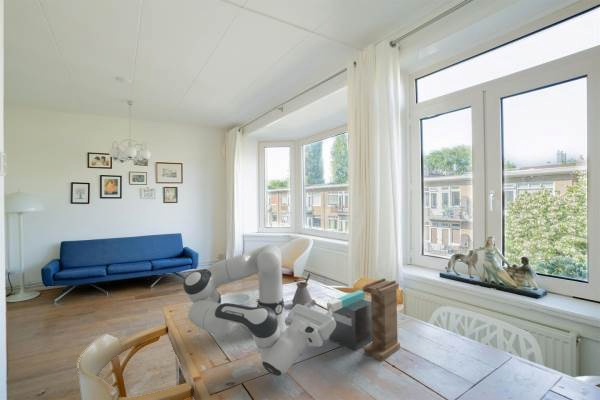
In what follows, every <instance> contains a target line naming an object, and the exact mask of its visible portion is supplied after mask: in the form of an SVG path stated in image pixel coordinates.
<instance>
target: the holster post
mask: <svg viewBox="0 0 600 400" xmlns="http://www.w3.org/2000/svg"><path fill="white" fill-rule="evenodd" d="M386 279H387V278H384V277H383V278H381V279H378V280H375V281H372V282H369V283H367V284H365V285H362V291H363V292H365V293H367V294H370V302H371V312H372V342H370V343H368V344H367V345H365V346H364V347H363V349H364V351H363V352H364V354H365V355H369V356H371V357H373V358H375V359H377V360H379V361H381V362H384V361H385V360H386V359H388V358H389V357H390V356H392V355H393V354H394V353H396V352H397V351H398V350H399V349H401V343H400V342H399V341H398V304H397V303H398V302H397V301H398V300H397V299H398V298H397V290H398V289H399V283H398V282H397V281H396V280H391V281H388V280H386Z"/></svg>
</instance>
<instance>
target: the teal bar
mask: <svg viewBox="0 0 600 400" xmlns="http://www.w3.org/2000/svg"><path fill="white" fill-rule="evenodd" d="M362 299H363V300H366V292H363V290H361V289H359V290H356V291H354V292H351V293H348V294H345V295H343V296H342V295H341V296H340V297H338V298H335V299H332V300H330V301H326V310H327V311H328V309H327V308H328V307H329V306H333V307H334V311H336V310H339V309H341V308H343V307H346V306H348V305H350V304H353V303H355V302H357V301H360V300H362ZM334 311H333V312H334Z"/></svg>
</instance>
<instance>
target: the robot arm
mask: <svg viewBox="0 0 600 400" xmlns="http://www.w3.org/2000/svg"><path fill="white" fill-rule="evenodd" d="M282 259H283V254H282V251H281V249H280V247H278V246H277V245H276V244H275V245H274V244H267V245H264V246H261V247H258V248H256V249H253V250H251V251H248V252H245V253H242V254H238V255H236V256H232V257H231V256H230V257H229V258H225V259H222V260H219V261H217V262H215V263H212V264H211V265H209V266H208V267H207V269H199V270H195V271H192V272H190V273H189V274H187V276H186V277H185V278H184V280H183V282H182V286H183V289H184V292H185V294H186V295H187V296H188V298H189V299H190V301H191V302H192V304H191V306H190V308H189V309H188V315H187V316H188V320H189V321H190V323H192V324H193V325H194V326H195V327H197V328H199V329H201V330H202V331H205V332H207V333H209V334H213V335H224V334H225V333H227V332H228V331H229V330H230V328H231V327H232V326H233V324H238V325H241V326H244V327H245V328H246V329H247V330H248V331H249V332H250V334H251V335H252V338H253V340H254V343H255V344H256V347H257V349H258V351H259V354H260V356H261V364H262V366H263V368H264V369H265V370H267V372H268V373H270V374H272V375H273V376H276V377H277V376H278V377H280V376H282V375H284V374H285V373H286V372H287V371H288V370H289V369H290V368H291V367H292V365H294V363H295V362H296V361H297V359H298V358H299V355H300V353H301V352H302V351H303V350H305V348H306V347H318V348H319V347H321V346H323V344H324V341H325V340H327V339H328V338H329V336H330V334H331V333H332V332H333V331H334V329H335V328H336V322H335V320H334V318H333V317H332V312H333V311H334V307H333V306H329V307H328V308H327V307H326V310H327V309H328V310H327V311H328V312H326V313H323V312H320V311H318V310H316V309H313V308H312V307H315V305H317V302H316V300H315V299H312V298H311V299H312V300H311V301H310V302H308V303H306V304H305V305H304V306H303V305H300V304H296V305H294V306H292V309H291V310H290V311H289V312H288V314H287V316H286V309H285V307H284V306H285V305H284V304H285V302H284V301H285V300H284V299H285V298H284V297H283V295H284V294H283V269H282V267H283V265H282V263H283V260H282ZM256 274H257V279H258V299H256V302H255V303H257V304H256V306H242V305H237V304H231V303H223V304H221V293H219V291H218V288H219V287H221V286H222V285H226V284H231V283H235V282H237V281H240V280H244V279H247V278H250V277H252V276H255V275H256Z"/></svg>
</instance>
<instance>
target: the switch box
mask: <svg viewBox="0 0 600 400" xmlns="http://www.w3.org/2000/svg"><path fill="white" fill-rule="evenodd" d="M332 317H333V318H334V320H335V322H336V328H335V329H334V331H333V332H332V333H331V334H330V336H329V337H328V338H329V340H330V341H332V342H335V343H337V344H339V345H341V346H343V347H345V348H347V349H350V350H352V351H355V352H357V351H359V350H360V349H362V348H365V347H366V346H368V345H369V344H371V343H372V312H371V300H367V299H362V300H360V301H357V302H355V303H353V304H350V305H348V306H346V307H343V308H341V309H339V310H336V311H334V312H332Z"/></svg>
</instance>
